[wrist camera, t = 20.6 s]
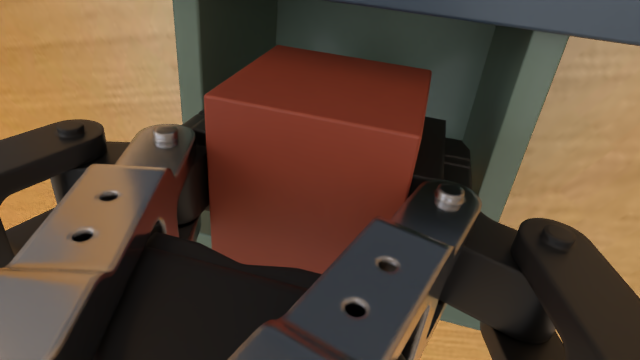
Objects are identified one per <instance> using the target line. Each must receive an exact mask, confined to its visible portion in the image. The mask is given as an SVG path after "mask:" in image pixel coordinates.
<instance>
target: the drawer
mask: <svg viewBox="0 0 640 360" xmlns="http://www.w3.org/2000/svg"><path fill="white" fill-rule="evenodd" d="M173 11H174V23H175V36H176V48H177V60H178V72H179V84H180V97H181V109H182V121H183V124H184V123H185V122H187V121H188V120H189V119H191V118H192V117H193V116H195V115H196V114H199V112H200V111H201V110H203V109H204V95H205V94H206V93H208V92H209V91H211V90H212V89H214V88H215V87H216V86H218V85H219V84H221V83H222V82H224V81H225V80H227V79H228V78H230V77H231V76H233V75H234V74H235V73H237V72H238V71H240V70H241V69H243V68H244V67H246V66H247V65H249V64H250V63H252V62H253V61H255V60H256V59H257V58H259V57H260V56H262V55H263V54H265V53H266V52H268V51H269V50H271V49H272V48H274V47H275V46H276V45H282V46H288V47H294V48H300V49H306V50H312V51H318V52H325V53H331V54H337V55H343V56H349V57H355V58H361V59H367V60H373V61H379V62H385V63H391V64H397V65H403V66H409V67H415V68H421V69H427V70H431V71H432V76H431V83H430V89H429V95H428V102H427V108H426V114H425V116H426V117H431V118H437V119H442V120H446V138H452V139H457V140H462V141H463V143H464V144H465V145H466V146H467V147H468V148H469V150H470V159H471V160H470V161H471V175H472V190H473V191H474V192H475V193H476V194H477V195H478V196H479V197H480V199H481V201H482V207H481V210H480V211H481V212H482V213H483V214H485V215H486V216H487V217H489V218H490V219H492V220H494V221H496V222H499V219H500V217H501V214H502V211H503V209H504V206H505V204H506V201H507V198H508V196H509V193H510V191H511V188H512V185H513V183H514V180H515V177H516V175H517V172H518V170H519V167H520V164H521V162H522V159H523V156H524V154H525V151H526V149H527V146H528V143H529V141H530V138H531V136H532V133H533V130H534V128H535V125H536V122H537V120H538V117H539V115H540V112H541V109H542V107H543V104H544V102H545V99H546V96H547V94H548V91H549V88H550V86H551V83H552V81H553V78H554V75H555V73H556V70H557V68H558V65H559V62H560V60H561V57H562V54H563V52H564V49H565V47H566V44H567V41H568V39H569V36H567V35H560V34H553V33H546V32H539V31H532V30H525V29H518V28H511V27H504V26H497V25H490V24H483V23H476V22H469V21H462V20H455V19H448V18H441V17H434V16H427V15H421V14H414V13H407V12H400V11H393V10H386V9H379V8H372V7H365V6H358V5H351V4H344V3H337V2H330V1H323V0H173ZM197 242H198V243H201V244H203V245H205V246H207V247H209V248H211V249H212V244H211V225H210V211H206V210H204V211H203V212H202V213H201V229H200V232H199V235H198V238H197ZM440 320H442V321H446V322H450V323H453V324H457V325H461V326H465V327H469V328H473V329H476V330H480V321H479V320H477V319H475V318H473V317H471V316H469V315H467V314H465V313H463V312H461V311H459V310H458V309H456V308H454V307H452V306H450V305H448V304H447V306H446V308H445V310H444V312H443V314H442V316H441V318H440Z"/></svg>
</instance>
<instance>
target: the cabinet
mask: <svg viewBox="0 0 640 360" xmlns="http://www.w3.org/2000/svg"><path fill="white" fill-rule="evenodd" d="M323 1H330V2H337V3H344V4H351V5H358V6H365V7H372V8H379V9H386V10H393V11H400V12H407V13H414V14H421V15H427V16H434V17H441V18H448V19H455V20H462V21H469V22H476V23H483V24H490V25H497V26H504V27H511V28H518V29H525V30H532V31H539V32H546V33H553V34H560V35H567V36H574V37H581V38H588V39H595V40H602V41H609V42H615V43H622V44H629V45H636V46H640V0H323Z"/></svg>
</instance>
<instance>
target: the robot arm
mask: <svg viewBox="0 0 640 360" xmlns="http://www.w3.org/2000/svg"><path fill="white" fill-rule="evenodd" d="M470 160H471V159H470V150H469V148H468V147H467V146H466V145H465V144H464V143H463V141H462V140H457V139H452V138H446V120H442V119H437V118H431V117H426V116H425V121H424V127H423V133H422V139H421V144H420V148H419V152H418V156H417V160H416V165H415V169H414V173H413V177H412V182H411V186H410V190H409V194H408V199H407V200H406V201H405V202H404V203H403V205H402V206H401V207H400V208H399V209H398V210H397V212H396V213H395V214H394V215H393V216H392V217H391V219H390V220H389V219H387V218H384V217H382V216H379V215H378V216H376V217H375V218H373V219H372V220H371V222H370V223H369V224H368V225H367V226H366V227H365V228H364V229H363V230H362V231H361V232H360V234H359V235H358V236H357V237H356V238H355V239H354V240H353V241H352V242H351V243H350V244H349V245H348V247H347V248H346V249H345V250H344V251H343V252H342V253H341V254H340V255H339V256H338V257H337V258H336V260H335V261H334V262H333V263H332V264H331V265H330V266H329V267H328V268H327V269H326V270H325V271H324V273H323V274H319V273H315V272H311V271H307V270H303V269H300V268H292V267H277V266H262V265H247V264H242V263H239V262H236V261H234V260H232V259H230V258H229V257H227V256H225V255H223V254H221V253H219V252H217V251H215V250H213V249H211V248H209V247H207V246H205V245H203V244H201V243H198V242H197V238H198V235H199V232H200V229H201V213H202V212H203V211H204V210H206V211H210V206H209V187H208V168H207V150H206V131H205V112H204V109H203V110H201V111H200V112H199V114H196V115H195V116H193V117H192V118H191V119H189V120H188V121H187V122H185V123H184V124H183V125H177V124H160V125H154V126H150V127H147V128H144V129H142V130H141V131H139V132H138V133H137V134H136V136H135V137H134V138H133V140H132V141H131V142H106V139H105V133H104V128H103V126H102V125H101V124H99V123H98V122H95V121H91V120H81V119H80V120H66V121H61V122H57V123H53V124H50V125H47V126H44V127H41V128H37V129H34V130H31V131H28V132H25V133H22V134H19V135H15V136H12V137H9V138H6V139H3V140H0V205H1V203H2V202H3V201H4V199H5V198H7V197H8V196H9V195H11V194H13V193H15V192H18V191H20V190H23V189H25V188H28V187H30V186H32V185H35V184H37V183H40V182H42V181H45V180H47V179H49V178H50V180H51V183H52V187H53V190H54V194H55V198H56V201H57V206H56V207H55V208H53V209H51V210H49V211H47V212H45V213H42V214H40V215H38V216H36V217H34V218H32V219H30V220H27V221H25V222H23V223H21V224H19V225H17V226H15V227H12V228H10V229H8V230H6V231H5V229H4V227H3V224H2V221H1V219H0V360H420V358H421V356H422V354H423V352H424V350H425V348H426V346H427V344H428V342H429V340H430V338H431V336H432V334H433V332H434V330H435V328H436V326H437V324H438V322H439V320H440V318H441V316H442V314H443V312H444V310H445V308H446V306H447V304H448V305H450V306H452V307H454V308H456V309H458V310H459V311H461V312H463V313H465V314H467V315H469V316H471V317H473V318H475V319H477V320H479V321H480V330H481V333H482V336H483V338H484V341H485V343H486V345H487V348H488V350H489V353H490V355H491V357H492V360H640V298H639V297H638V296H637V295H636V294H635V292H634V291H633V290H632V289H631V288H630V287H629V285H628V284H627V283H626V282H625V281H624V280H623V278H622V277H621V276H620V275H619V274H618V273H617V271H616V270H615V269H614V268H613V267H612V266H611V265H610V263H609V262H608V261H607V260H606V259H605V258H604V256H603V255H602V254H601V253H600V252H599V251H598V249H597V248H596V247H595V246H594V245H593V244H592V242H591V241H590V240H589V239H588V238H587V237H586V236H584V235H583V234H582V233H580V232H579V231H577V230H576V229H574V228H572V227H570V226H568V225H566V224H563V223H561V222H558V221H554V220H550V219H544V218H532V219H528V220H525V221H523V222H522V223H521V225H520V227H519V229H518V231H517V230H515V229H512V228H510V227H507V226H505V225H502V224H500V223H498V222H496V221H494V220H492V219H490V218H489V217H487V216H486V215H485V214H483V213H482V212H481V211H480V210H481V207H482V201H481V199H480V197H479V196H478V195H477V194H476V193H475V192H474V191H473V190H472V175H471V161H470ZM555 330H557V332H558V333H559V335H560V337H561V339H562V342H563V343H562V342H561V340H560V338H559V337H558V335H557V333H556V332H555Z"/></svg>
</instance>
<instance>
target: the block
mask: <svg viewBox="0 0 640 360" xmlns="http://www.w3.org/2000/svg"><path fill="white" fill-rule="evenodd" d="M431 76H432V71H431V70H427V69H421V68H415V67H409V66H403V65H397V64H391V63H385V62H379V61H373V60H367V59H361V58H355V57H349V56H343V55H337V54H331V53H325V52H318V51H312V50H306V49H300V48H294V47H288V46H282V45H276V46H275V47H274V48H272V49H271V50H269V51H268V52H266V53H265V54H263V55H262V56H260V57H259V58H257V59H256V60H255V61H253V62H252V63H250V64H249V65H247V66H246V67H244V68H243V69H241V70H240V71H238V72H237V73H235V74H234V75H233V76H231V77H230V78H228V79H227V80H225V81H224V82H222V83H221V84H219V85H218V86H216V87H215V88H214V89H212V90H211V91H209V92H208V93H206V94H205V95H204V112H205V131H206V150H207V168H208V187H209V206H210V225H211V244H212V249H213V250H215V251H217V252H219V253H221V254H223V255H225V256H227V257H229V258H230V259H232V260H234V261H236V262H239V263H242V264H247V265H262V266H277V267H292V268H300V269H303V270H307V271H311V272H315V273H319V274H323V273H324V271H325V270H326V269H327V268H328V267H329V266H330V265H331V264H332V263H333V262H334V261H335V260H336V258H337V257H338V256H339V255H340V254H341V253H342V252H343V251H344V250H345V249H346V248H347V247H348V245H349V244H350V243H351V242H352V241H353V240H354V239H355V238H356V237H357V236H358V235H359V234H360V232H361V231H362V230H363V229H364V228H365V227H366V226H367V225H368V224H369V223H370V222H371V220H372V219H373V218H375V217H376V216H378V215H379V216H382V217H384V218H387V219H389V220H390V219H391V217H392V216H393V215H394V214H395V213H396V212H397V210H398V209H399V208H400V207H401V206H402V205H403V203H404V202H405V201H406V200H407V199H408V194H409V190H410V186H411V182H412V177H413V173H414V169H415V165H416V160H417V156H418V152H419V148H420V144H421V139H422V133H423V127H424V121H425V114H426V108H427V102H428V95H429V89H430V83H431Z"/></svg>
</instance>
